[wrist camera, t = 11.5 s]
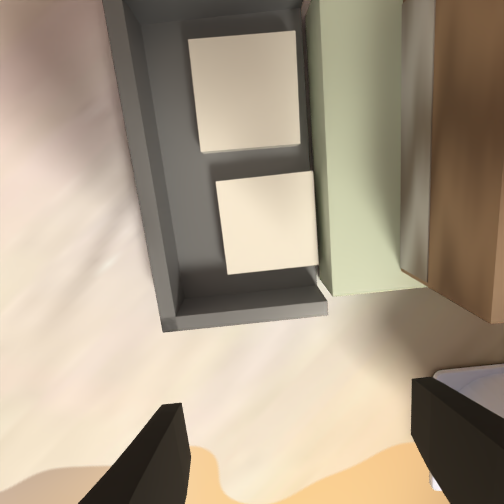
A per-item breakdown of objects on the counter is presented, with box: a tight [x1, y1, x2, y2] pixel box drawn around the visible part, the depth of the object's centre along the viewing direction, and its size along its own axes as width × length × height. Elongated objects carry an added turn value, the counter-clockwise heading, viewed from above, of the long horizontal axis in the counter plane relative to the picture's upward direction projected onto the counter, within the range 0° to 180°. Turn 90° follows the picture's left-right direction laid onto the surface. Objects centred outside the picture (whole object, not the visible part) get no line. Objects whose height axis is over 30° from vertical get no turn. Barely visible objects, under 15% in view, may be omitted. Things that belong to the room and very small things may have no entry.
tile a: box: [216, 171, 319, 275], centre depth 17 cm, size 5×5×1 cm
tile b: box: [188, 31, 300, 154], centre depth 16 cm, size 5×5×1 cm
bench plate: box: [305, 0, 427, 297], centre depth 16 cm, size 14×10×3 cm
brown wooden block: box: [400, 0, 504, 324], centre depth 12 cm, size 12×3×6 cm, turn 6°
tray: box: [102, 0, 328, 332], centre depth 16 cm, size 16×9×3 cm, turn 6°
